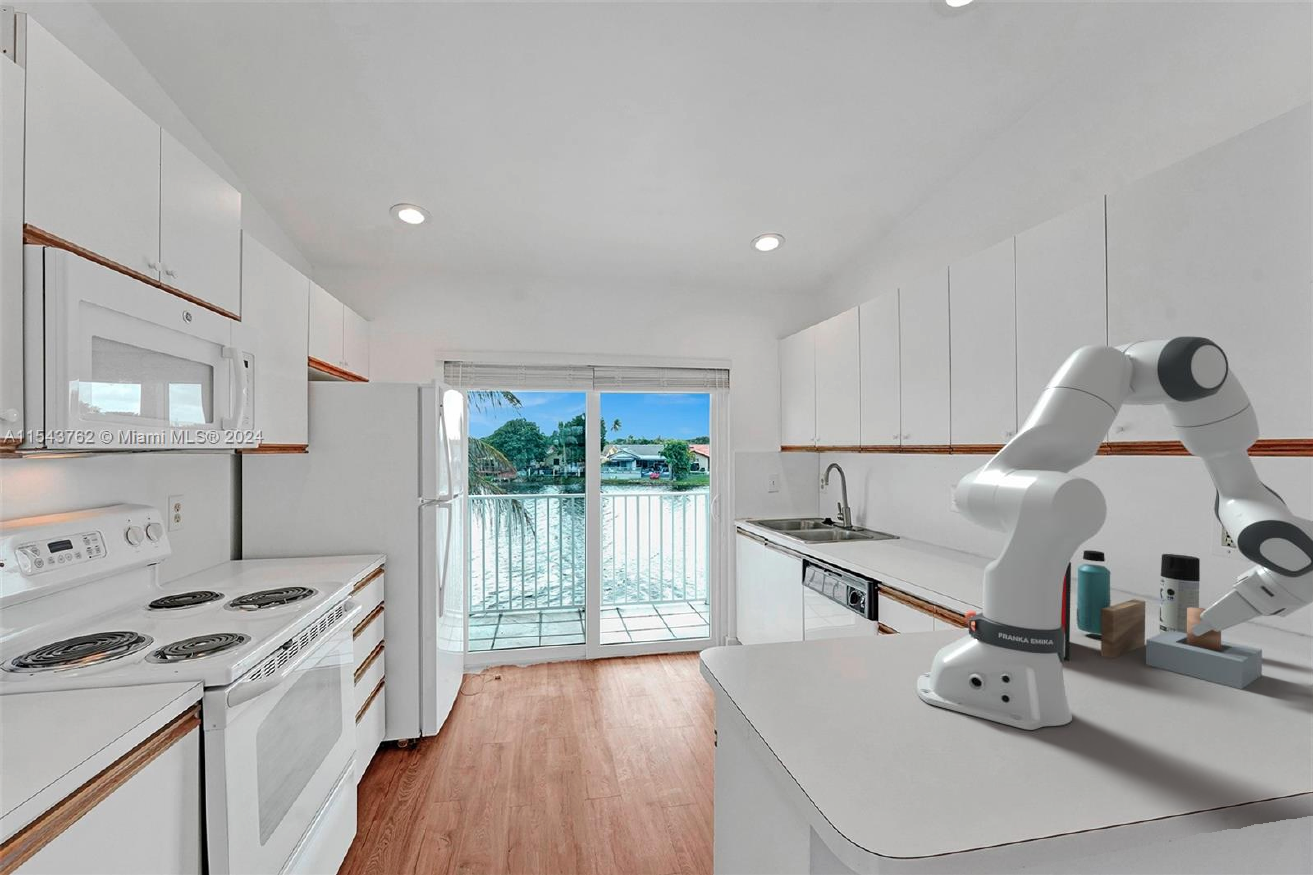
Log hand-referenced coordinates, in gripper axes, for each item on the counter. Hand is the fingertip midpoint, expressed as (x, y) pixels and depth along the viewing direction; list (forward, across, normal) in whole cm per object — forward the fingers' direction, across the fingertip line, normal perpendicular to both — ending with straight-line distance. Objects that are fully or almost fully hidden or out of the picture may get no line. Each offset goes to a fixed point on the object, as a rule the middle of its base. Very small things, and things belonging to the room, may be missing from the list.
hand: (1199, 630), depth 118 cm
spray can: (+11, -19, 0) cm, 22 cm away
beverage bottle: (+20, -6, -9) cm, 23 cm away
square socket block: (+5, 0, +6) cm, 8 cm away
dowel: (+3, 0, +4) cm, 5 cm away
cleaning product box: (+22, +14, -10) cm, 28 cm away
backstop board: (+14, 0, -3) cm, 15 cm away
